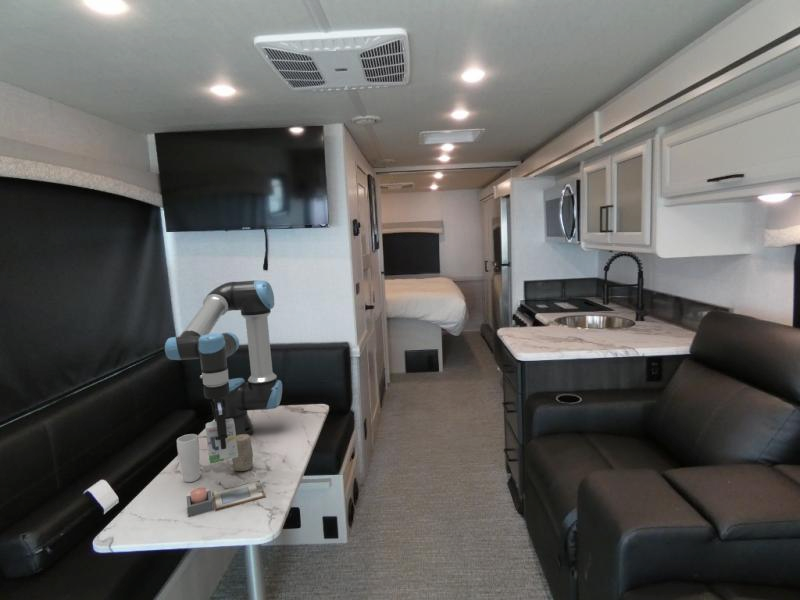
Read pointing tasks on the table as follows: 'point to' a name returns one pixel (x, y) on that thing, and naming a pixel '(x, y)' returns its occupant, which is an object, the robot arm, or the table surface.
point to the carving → (243, 453)
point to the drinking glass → (189, 457)
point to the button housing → (199, 505)
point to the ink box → (213, 443)
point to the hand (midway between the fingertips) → (223, 453)
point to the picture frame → (238, 495)
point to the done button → (198, 495)
